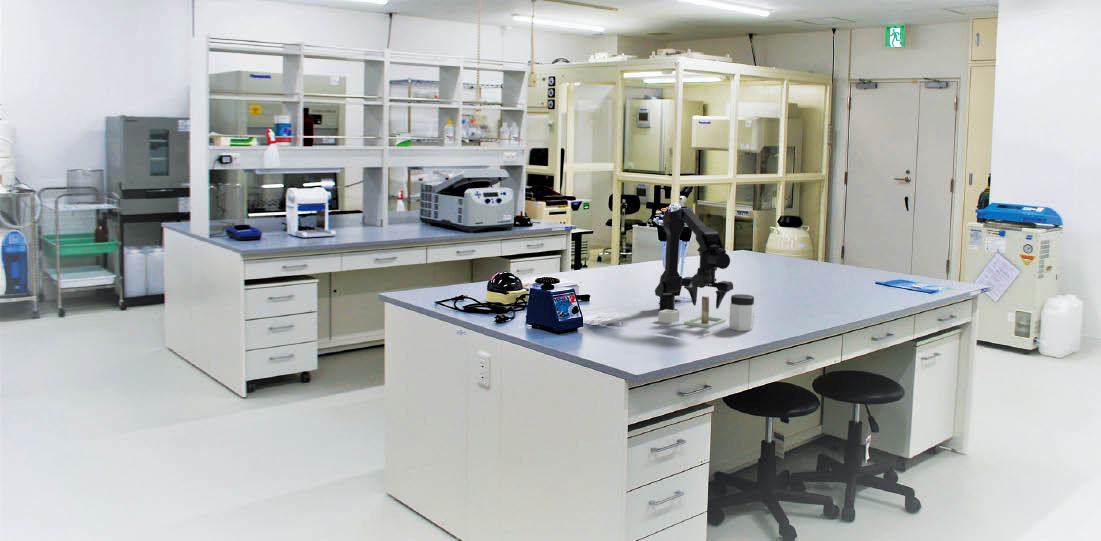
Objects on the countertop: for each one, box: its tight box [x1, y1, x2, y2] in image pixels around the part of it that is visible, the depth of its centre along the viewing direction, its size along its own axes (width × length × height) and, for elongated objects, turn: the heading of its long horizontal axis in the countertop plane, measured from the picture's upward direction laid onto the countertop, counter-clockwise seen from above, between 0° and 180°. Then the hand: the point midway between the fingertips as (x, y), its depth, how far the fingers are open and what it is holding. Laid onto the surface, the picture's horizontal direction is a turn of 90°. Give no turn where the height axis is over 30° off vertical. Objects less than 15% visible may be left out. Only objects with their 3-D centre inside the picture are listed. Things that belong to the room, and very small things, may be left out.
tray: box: [683, 315, 727, 329], centre depth 329 cm, size 14×10×2 cm
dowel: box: [700, 295, 710, 325], centre depth 328 cm, size 3×3×10 cm
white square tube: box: [657, 309, 680, 324], centre depth 331 cm, size 6×6×4 cm
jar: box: [728, 293, 755, 332], centre depth 323 cm, size 9×8×12 cm
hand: (705, 306), depth 328 cm, fingers open, 9 cm apart
